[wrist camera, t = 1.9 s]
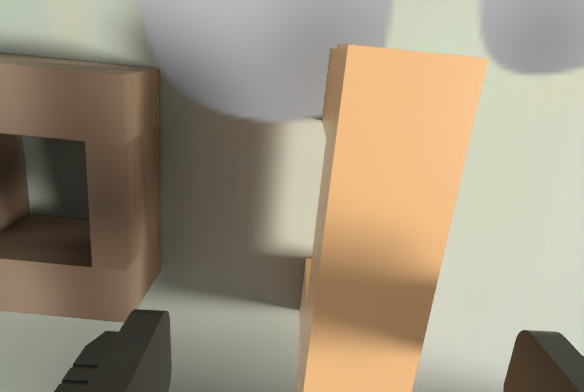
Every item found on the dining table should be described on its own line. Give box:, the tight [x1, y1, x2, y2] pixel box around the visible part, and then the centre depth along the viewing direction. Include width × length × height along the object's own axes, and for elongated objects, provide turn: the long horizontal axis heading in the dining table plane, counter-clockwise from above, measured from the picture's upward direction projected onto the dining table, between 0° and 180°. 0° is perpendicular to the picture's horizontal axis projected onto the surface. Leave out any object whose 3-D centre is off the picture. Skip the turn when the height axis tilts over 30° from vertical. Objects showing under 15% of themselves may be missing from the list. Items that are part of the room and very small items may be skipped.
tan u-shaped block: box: [295, 44, 489, 392], centre depth 15 cm, size 12×3×8 cm, turn 175°
